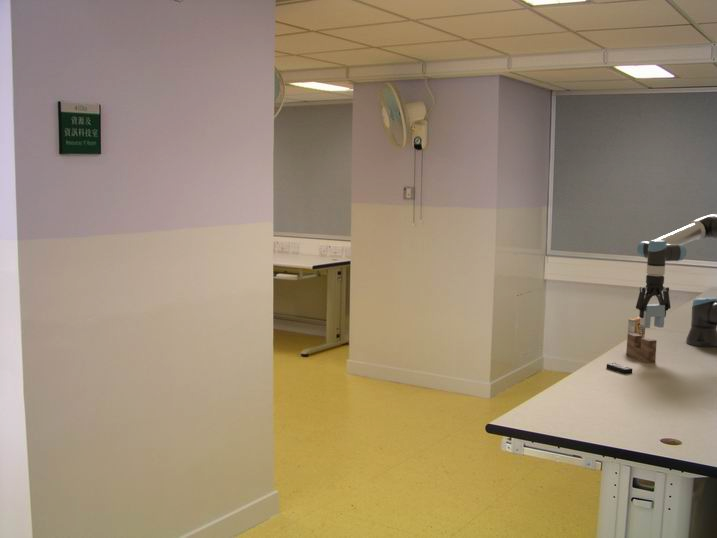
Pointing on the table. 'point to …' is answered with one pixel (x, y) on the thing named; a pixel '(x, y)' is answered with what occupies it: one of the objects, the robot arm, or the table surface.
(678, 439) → the table surface
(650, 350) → the walnut notched block
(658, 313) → the grey slotted block
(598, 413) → the table surface
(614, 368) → the multiport hub
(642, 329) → the candy box
